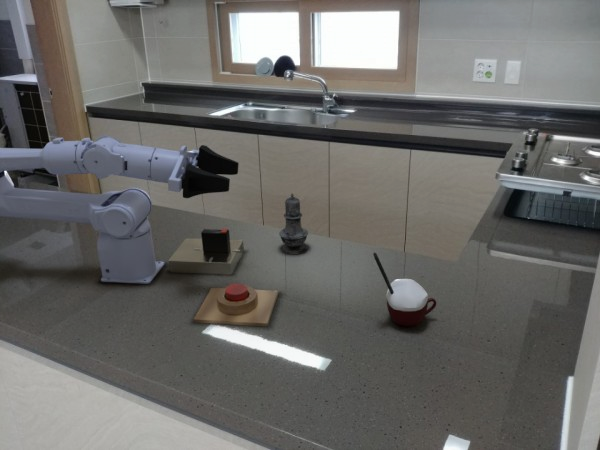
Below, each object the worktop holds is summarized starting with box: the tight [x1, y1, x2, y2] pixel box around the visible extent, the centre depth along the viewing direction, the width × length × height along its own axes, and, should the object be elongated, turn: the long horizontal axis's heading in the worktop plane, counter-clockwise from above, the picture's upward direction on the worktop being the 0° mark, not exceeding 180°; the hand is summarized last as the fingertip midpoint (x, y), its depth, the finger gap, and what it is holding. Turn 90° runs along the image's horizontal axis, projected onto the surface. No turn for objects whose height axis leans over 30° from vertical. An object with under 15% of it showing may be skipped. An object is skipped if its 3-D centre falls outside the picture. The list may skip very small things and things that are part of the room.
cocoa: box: [372, 252, 437, 327], centre depth 82 cm, size 10×6×12 cm, turn 71°
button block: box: [193, 285, 280, 328], centre depth 89 cm, size 12×10×2 cm
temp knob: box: [200, 228, 231, 252], centre depth 103 cm, size 5×2×4 cm, turn 82°
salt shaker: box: [278, 193, 309, 255], centre depth 107 cm, size 6×6×12 cm
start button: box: [225, 283, 248, 302], centre depth 88 cm, size 4×4×2 cm
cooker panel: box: [168, 237, 245, 276], centre depth 105 cm, size 13×10×3 cm
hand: (233, 176), depth 92 cm, fingers open, 7 cm apart
